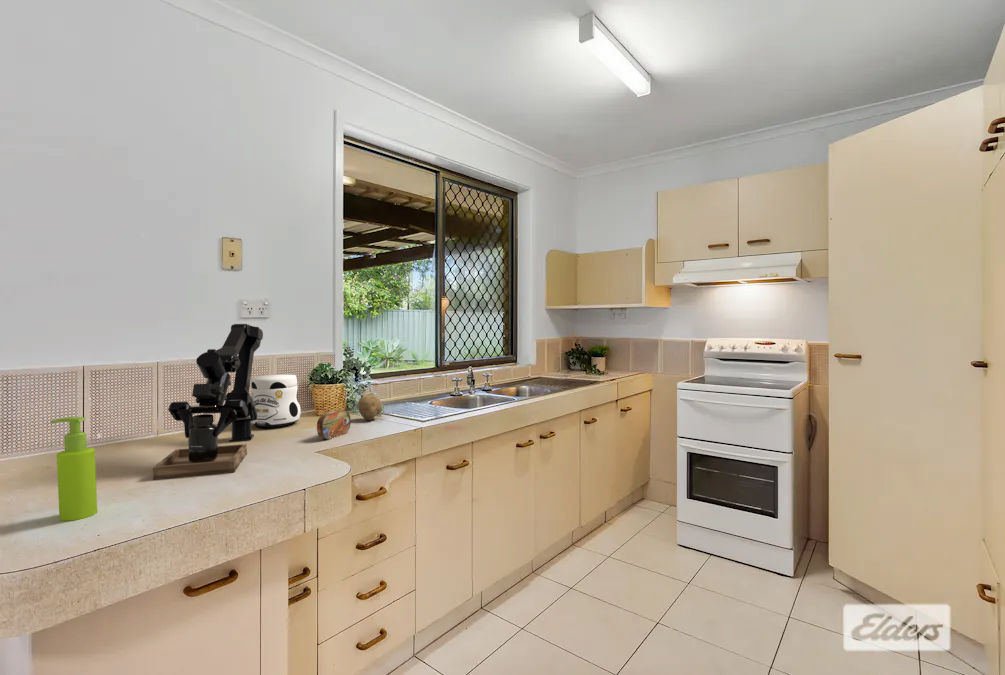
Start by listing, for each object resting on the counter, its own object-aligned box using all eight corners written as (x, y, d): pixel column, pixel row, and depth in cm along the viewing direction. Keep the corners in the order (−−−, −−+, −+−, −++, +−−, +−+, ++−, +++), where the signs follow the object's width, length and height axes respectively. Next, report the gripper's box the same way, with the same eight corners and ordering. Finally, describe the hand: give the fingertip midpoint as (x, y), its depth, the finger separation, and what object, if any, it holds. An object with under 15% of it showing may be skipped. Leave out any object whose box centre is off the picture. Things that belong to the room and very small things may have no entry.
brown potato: (372, 416, 200) (371, 392, 200) (387, 419, 195) (386, 393, 194) (353, 420, 193) (353, 395, 192) (368, 423, 188) (368, 397, 187)
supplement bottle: (189, 465, 130) (188, 419, 130) (187, 458, 136) (186, 415, 135) (219, 460, 134) (219, 416, 134) (216, 454, 140) (215, 412, 139)
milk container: (250, 432, 175) (248, 381, 174) (249, 423, 190) (248, 375, 189) (303, 426, 183) (302, 377, 182) (298, 418, 198) (297, 373, 197)
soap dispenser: (69, 510, 104) (64, 415, 103) (104, 509, 105) (100, 414, 104) (45, 521, 98) (41, 421, 98) (83, 520, 99) (79, 420, 98)
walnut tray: (176, 459, 141) (175, 449, 141) (247, 454, 146) (246, 444, 146) (153, 479, 124) (152, 467, 124) (234, 472, 129) (234, 460, 129)
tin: (323, 442, 160) (322, 416, 160) (315, 441, 161) (314, 415, 161) (351, 431, 175) (351, 407, 174) (344, 431, 176) (343, 407, 175)
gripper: (169, 372, 136) (150, 421, 126) (243, 371, 139) (230, 418, 129) (184, 396, 144) (167, 444, 134) (253, 394, 148) (241, 440, 137)
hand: (201, 436), depth 134 cm, fingers closed on supplement bottle, 7 cm apart
